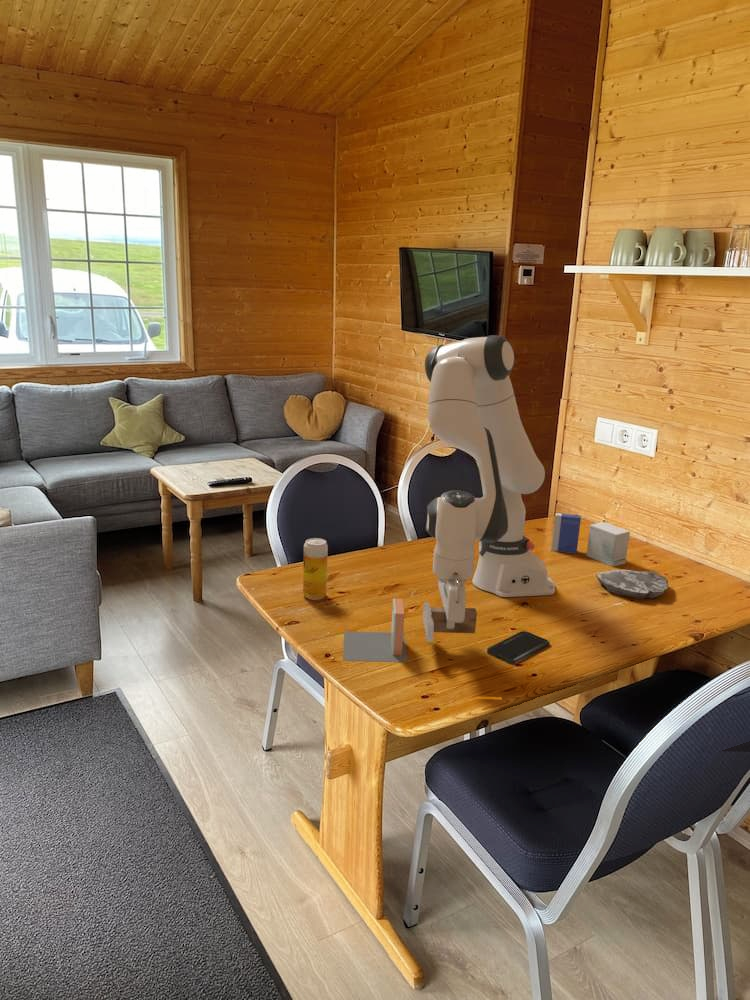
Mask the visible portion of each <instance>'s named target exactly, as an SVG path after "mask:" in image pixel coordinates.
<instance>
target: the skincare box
mask: <svg viewBox="0 0 750 1000" xmlns="http://www.w3.org/2000/svg"><path fill="white" fill-rule="evenodd" d="M630 533H631V531H629V530H627V529H624V528H622V527H619V526H616V525H614V524H610V523H607V522H605V521H601V522H597V523H592V524H590V525H589V531H588V539H587V548H586V549H587V550H586V557H588V558H591V559H593V560H595V561H598V562H600V563H603V564H605V565H606V566H609V567H612V568H614V567H617V566H621V564H622V565H625V564H626V563H627V555H628V548H629V547H628V546H629V539H630V536H631V535H630Z"/></svg>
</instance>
